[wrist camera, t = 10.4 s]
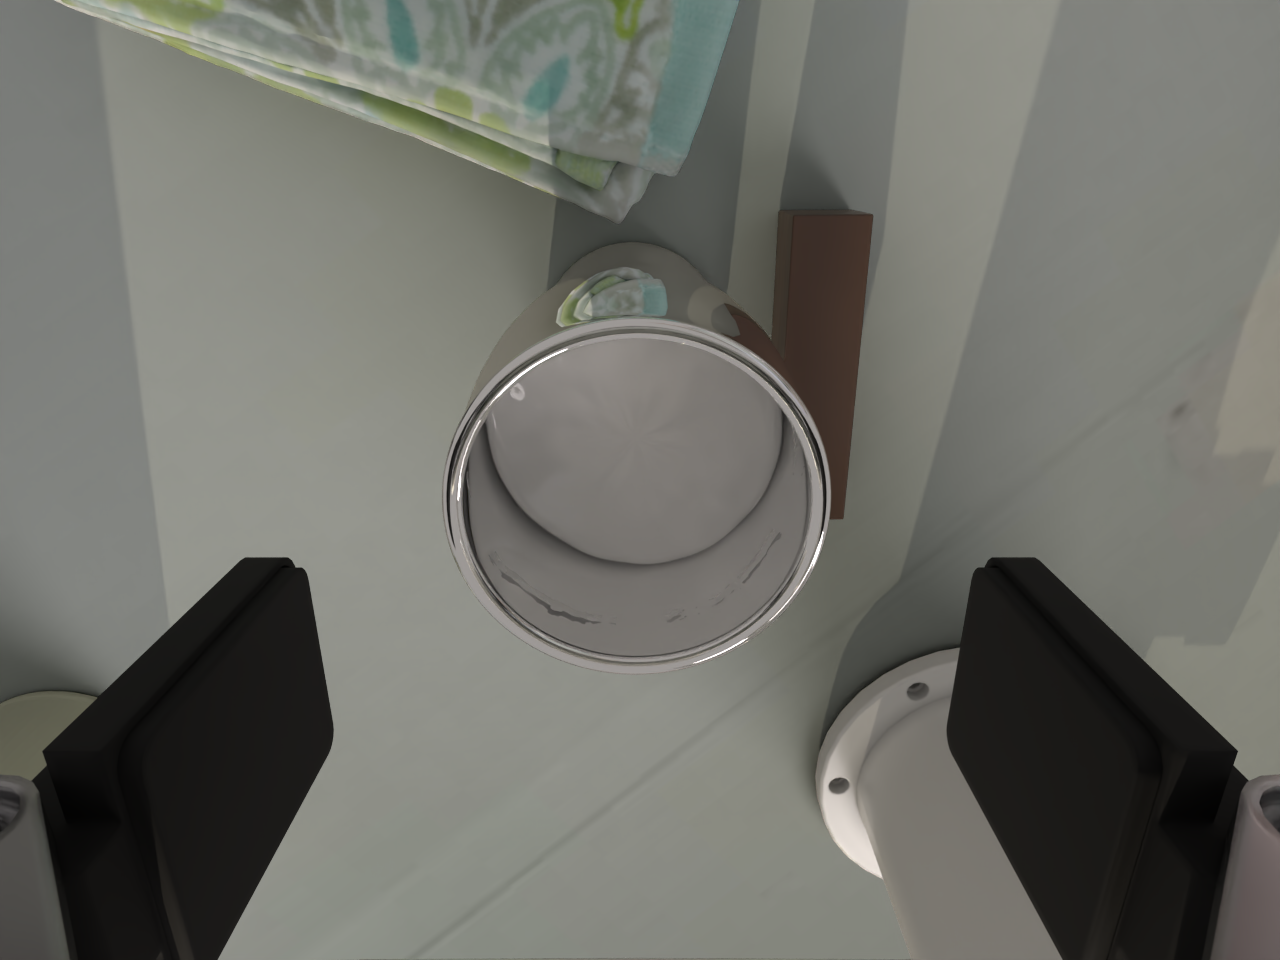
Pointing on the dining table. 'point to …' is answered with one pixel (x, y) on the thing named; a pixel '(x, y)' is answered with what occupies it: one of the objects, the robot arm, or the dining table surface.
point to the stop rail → (823, 321)
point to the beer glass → (635, 471)
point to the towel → (480, 75)
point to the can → (35, 728)
